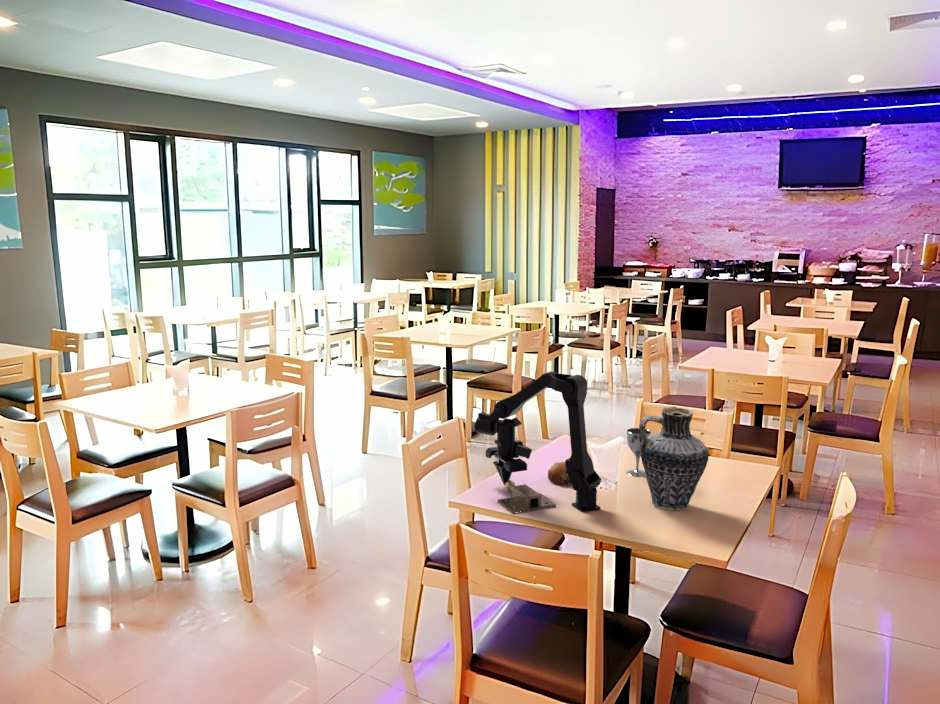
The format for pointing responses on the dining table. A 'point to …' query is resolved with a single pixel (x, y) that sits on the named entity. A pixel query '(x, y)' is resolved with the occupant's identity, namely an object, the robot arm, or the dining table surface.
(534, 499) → the hinge
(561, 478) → the bread roll
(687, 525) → the dining table surface
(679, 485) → the jug
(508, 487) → the pin
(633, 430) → the wine glass
